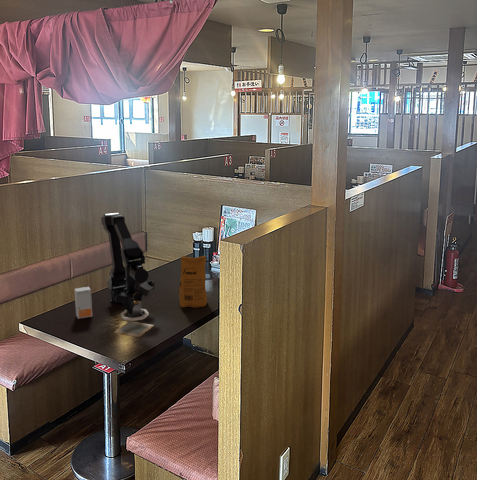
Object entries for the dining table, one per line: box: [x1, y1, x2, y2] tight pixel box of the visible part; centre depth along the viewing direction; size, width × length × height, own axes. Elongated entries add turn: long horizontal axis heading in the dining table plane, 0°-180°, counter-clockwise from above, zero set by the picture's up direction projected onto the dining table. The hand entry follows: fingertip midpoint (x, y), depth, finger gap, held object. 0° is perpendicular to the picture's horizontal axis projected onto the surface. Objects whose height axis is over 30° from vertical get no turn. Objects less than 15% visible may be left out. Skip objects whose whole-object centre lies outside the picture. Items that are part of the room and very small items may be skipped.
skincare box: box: [73, 286, 93, 320], centre depth 211 cm, size 6×4×12 cm
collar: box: [120, 308, 150, 322], centre depth 213 cm, size 11×11×1 cm
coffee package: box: [178, 255, 208, 309], centre depth 223 cm, size 10×12×22 cm
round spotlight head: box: [126, 298, 144, 318], centre depth 212 cm, size 6×7×6 cm
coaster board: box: [113, 320, 155, 338], centre depth 200 cm, size 11×11×1 cm
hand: (134, 311), depth 213 cm, fingers closed on round spotlight head, 6 cm apart
